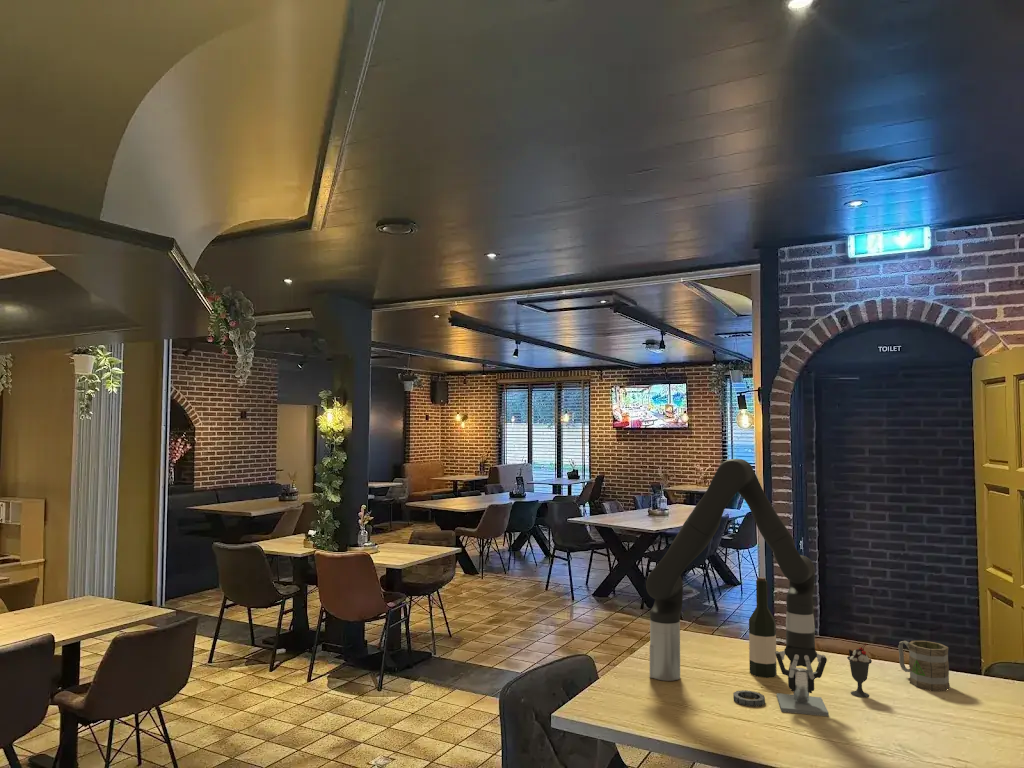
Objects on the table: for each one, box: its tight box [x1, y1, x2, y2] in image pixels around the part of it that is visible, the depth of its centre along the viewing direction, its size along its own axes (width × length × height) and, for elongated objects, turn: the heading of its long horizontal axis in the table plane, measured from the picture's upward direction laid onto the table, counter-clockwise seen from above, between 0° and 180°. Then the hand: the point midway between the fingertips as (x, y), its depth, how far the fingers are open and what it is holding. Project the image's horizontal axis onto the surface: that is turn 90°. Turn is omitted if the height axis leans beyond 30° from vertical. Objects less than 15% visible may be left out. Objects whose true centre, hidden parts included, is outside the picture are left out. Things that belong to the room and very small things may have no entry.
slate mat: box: [776, 692, 829, 717], centre depth 200 cm, size 12×12×1 cm
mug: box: [897, 640, 951, 692], centre depth 222 cm, size 16×11×12 cm
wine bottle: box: [748, 576, 778, 679], centre depth 230 cm, size 8×8×30 cm
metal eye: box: [732, 689, 766, 708], centre depth 204 cm, size 8×8×2 cm
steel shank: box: [793, 667, 810, 702], centre depth 201 cm, size 4×4×8 cm
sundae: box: [846, 643, 872, 698], centre depth 211 cm, size 7×7×15 cm
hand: (801, 691), depth 201 cm, fingers closed on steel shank, 4 cm apart
